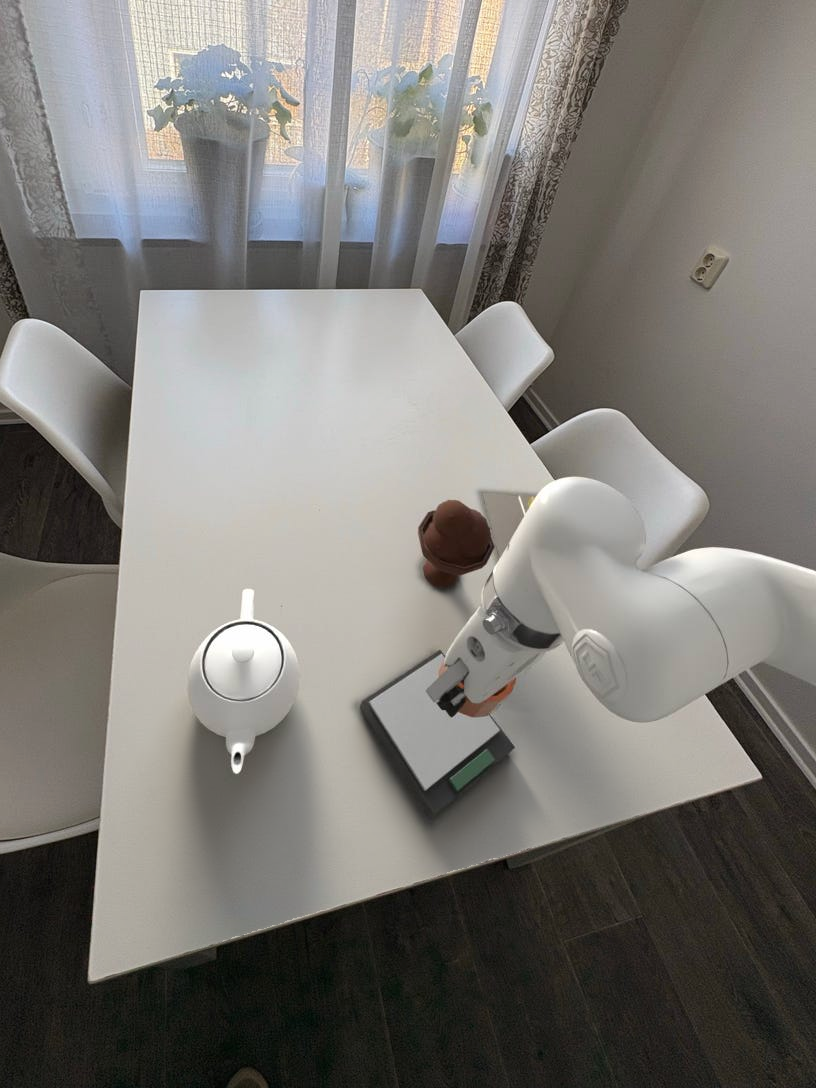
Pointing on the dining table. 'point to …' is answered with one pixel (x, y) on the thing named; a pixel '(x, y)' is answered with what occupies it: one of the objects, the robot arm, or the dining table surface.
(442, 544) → the ice cream bowl
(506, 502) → the platform
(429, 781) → the scale
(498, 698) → the dip bowl
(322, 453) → the dining table surface
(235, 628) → the teapot
